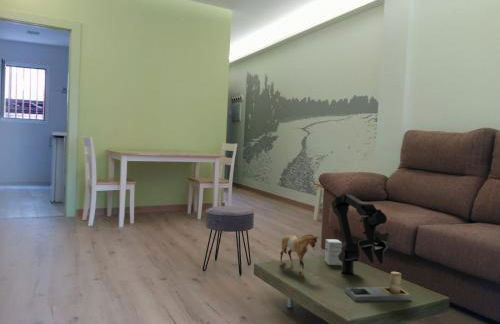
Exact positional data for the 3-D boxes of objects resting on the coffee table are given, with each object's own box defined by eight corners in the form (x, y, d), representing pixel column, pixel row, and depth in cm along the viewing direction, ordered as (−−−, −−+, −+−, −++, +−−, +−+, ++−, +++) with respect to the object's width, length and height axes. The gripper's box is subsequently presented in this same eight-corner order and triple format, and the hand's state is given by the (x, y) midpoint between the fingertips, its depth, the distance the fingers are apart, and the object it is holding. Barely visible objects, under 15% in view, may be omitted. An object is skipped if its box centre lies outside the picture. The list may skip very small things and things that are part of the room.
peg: (387, 294, 177) (388, 271, 176) (396, 293, 178) (397, 271, 177) (393, 298, 172) (394, 275, 172) (402, 297, 173) (403, 274, 173)
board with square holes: (355, 301, 167) (355, 296, 166) (345, 291, 177) (345, 286, 177) (411, 300, 170) (411, 295, 170) (397, 291, 181) (398, 286, 181)
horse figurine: (317, 278, 195) (319, 236, 194) (303, 279, 192) (305, 237, 191) (285, 260, 223) (287, 224, 222) (273, 261, 220) (274, 224, 219)
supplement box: (324, 261, 226) (325, 238, 225) (337, 261, 226) (338, 239, 226) (327, 265, 218) (329, 242, 218) (341, 265, 219) (342, 242, 219)
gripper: (377, 223, 176) (384, 258, 170) (394, 228, 189) (402, 261, 183) (354, 228, 183) (361, 263, 177) (373, 232, 196) (379, 265, 190)
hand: (377, 263), depth 182 cm, fingers open, 9 cm apart
